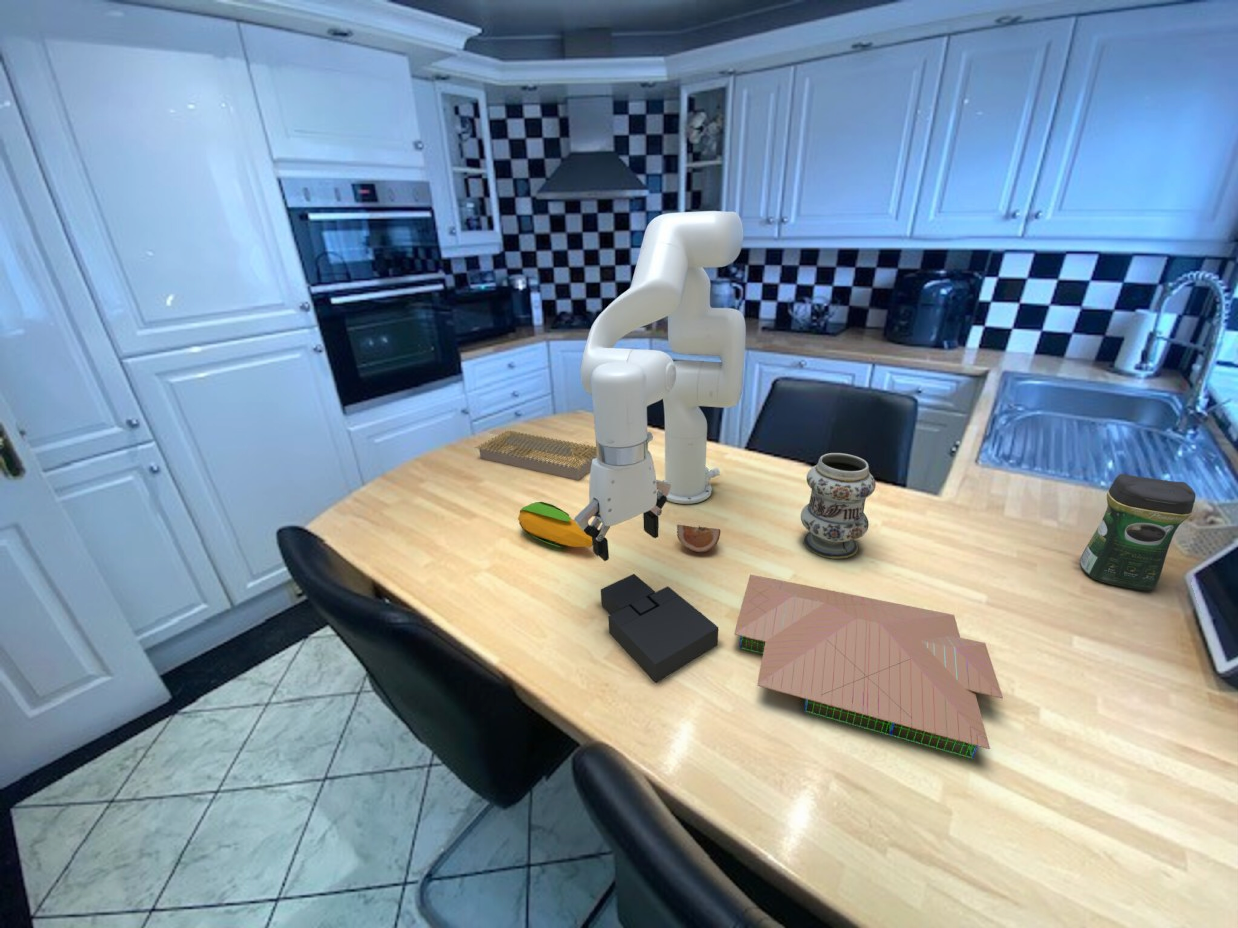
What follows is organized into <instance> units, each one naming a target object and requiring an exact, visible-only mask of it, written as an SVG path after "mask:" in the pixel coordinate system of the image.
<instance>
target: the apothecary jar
mask: <svg viewBox="0 0 1238 928" xmlns="http://www.w3.org/2000/svg"><path fill="white" fill-rule="evenodd" d="M869 465H870V464H869V463H868V462H867V461H866V460H865V459H863V458H861V457H859V456H857V455H853V454H848V453H843V452H830V453H825V454H823V455H821V456H820V457H819V458H818V463H817V464H816V465H814V466H812V467H811V468H810V469H809V470H808V472H807V473H806V483H807V485H808V487H809V488H810V489H811V491H810V497H809V502H808V503H807V504H806V505H804V507H803V508H802V509H801V511H800V522H801V524H802V525H803V527H804V528H805V529H806V530H807V531H808V532H807V533H806V534H805V535H804V537H803V545H804V546H805V547H806V548H807V550H809V551H810V552H811V553H814V554H815V555H817V556H819V557H822V558H826V559H827V558H828V559H835V560H840V559H848V558H851V557H853V556H854V555H855V554H857V553H858V549H859V546H858V544H857V542H856V541H855V540H858V539H860V538H862V537H863V536H865V534H866V533H867V531H868V530H869V525H870V524H869V519H868V517H867V514H865V504H866V499H867V498H869V497H870V496H871V495H873V493H874V492H875V490H876V486H877V483H876V480H875V478H874V476H873V475H872V474H871V472H870V467H869Z"/></svg>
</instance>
